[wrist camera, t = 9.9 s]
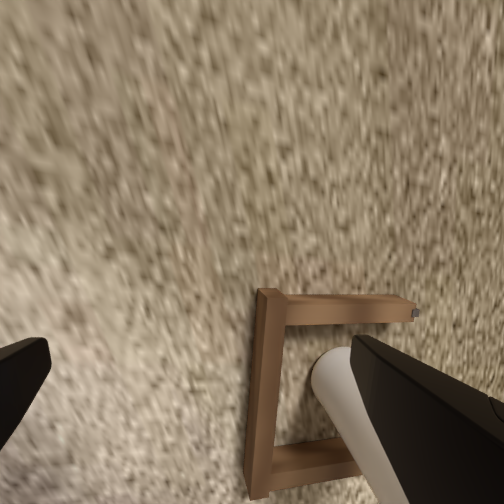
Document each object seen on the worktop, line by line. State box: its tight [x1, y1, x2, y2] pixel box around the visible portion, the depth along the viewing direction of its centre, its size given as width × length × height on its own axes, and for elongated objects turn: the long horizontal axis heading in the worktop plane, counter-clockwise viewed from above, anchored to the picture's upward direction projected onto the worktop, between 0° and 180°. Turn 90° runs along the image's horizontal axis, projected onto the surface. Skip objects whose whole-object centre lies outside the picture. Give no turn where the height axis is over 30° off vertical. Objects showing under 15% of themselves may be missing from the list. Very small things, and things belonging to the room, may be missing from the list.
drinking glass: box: [311, 346, 409, 504], centre depth 18 cm, size 7×7×15 cm
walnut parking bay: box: [243, 288, 419, 501], centre depth 24 cm, size 13×16×3 cm
